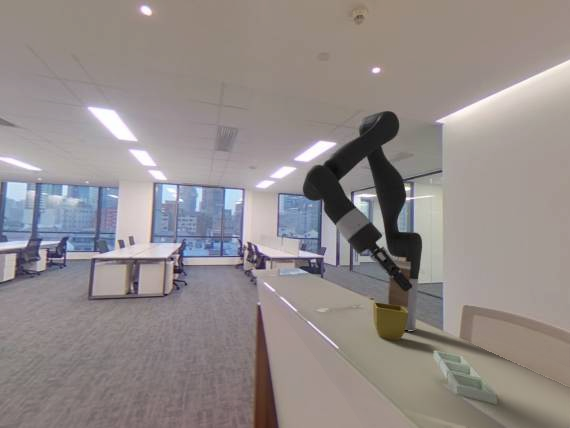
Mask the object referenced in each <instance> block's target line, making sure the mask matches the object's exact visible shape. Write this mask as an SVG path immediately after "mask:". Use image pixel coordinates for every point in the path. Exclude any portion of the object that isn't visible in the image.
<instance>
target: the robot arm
mask: <svg viewBox="0 0 570 428" xmlns="http://www.w3.org/2000/svg"><path fill="white" fill-rule="evenodd" d="M399 130H400V121H399V118H398V115H397V114H396V113H395V112H393V111H390V110H385V111H384V110H383V111H380V112H377V113H374V114H370V115H367V116H365V117H363V118H361V120H360V121H359V126H358V133H359V136H358V137H356V138H353V139H352V140H350V141H348V142H347V143H344V144H343V145H341V146H340V147H339V148H337V150H335V151H334V152H333V153H331V154H330V155H329V156H328V157H327V158H326V159H325V161H324V162H323V164H315V165H313V166H311V167H310V168H309V169H308V170H307V172H306V175H305V179H304V182H303V185H302V193H303V195H304V197H305V198H306V199H307V200H309V201H313V202H318V201H320V200H322V201H323V209H324V210H323V211H324V213H325V214H326V216H327V217H328V218H329V220H330V221H331V222H332V223H333V225H334V226H336V227H335V228H337V230H338V231H339V233H340V234H341V236H342V237H343V238H344V239H345V240H346V241H347V243H348V244H349V245H350V247H352V249H353V250H354V251H355V252H356V254H358V255H361V254H362V253H364V252H365V251H369V252H370V254H372V255H370V256H369V257H370V258H371V260H372V261H373V263H376V264H377V265H378V266H379V268H380V269H381V270H382V271H383V272H385V273H386V274H387V275H388V277H389V276H390V277H392V278H393V279H394V280H395V281H396V282H397V283H398V285H399V286H400V287H401V288H402V289H403V290H404V291H405V292H406V291H408V290H409V296H408V307H403V308H404V309H406V310H407V311H408V313H409V314H408V319H407V324H406V329H405V330H414V329H415V330H416V322H417V310H418V309H417V306H418V294H419V293H418V292H419V291H418V290H419V289H418V288H419V274H420V270H421V262H422V261H421V260H422V252H423V250H422V249H423V239H422V236H421V235H420V234H419V232H414V231H399V226H398V221H399V220H398V219H399V217H400V214H401V212H402V210H403V207H404V206H405V203H406V201H407V192H406V185H405V182H404V179H403V176H402V175H401V173H400V172H399V171H398V169H397V168H396V167H395V166H394V165H393V164H392V162H390V161H389V160H388V158H387V157H386V155H385V152H384V150H383V147H382V146H383V145H385V144H387V143H389V142H390V141H392V140H393V139H395V138H396V136H397V135H398V133H399V132H400V131H399ZM365 158H367V162H368V165H369V168H370V172H371V176H372V179H373V184H374V189H375V193H376V197H377V200H378V204H379V209H380V212H381V217H382V221H383V229H384V236H385V241H386V247H387V249H386V248H385V247H384V246H382V247H380V246H379V245H378V244H377V242H378V241H379V240H381V238H382V237H383V233H382V232H381V231H380V230H379V228H377V227H376V226H375V225H374V224H373V222H372V221H371V220H370V219H369V218H368V217H367V216H366V215H365V213H364V212H362V211H361V210H360V209H359V208H358V207H357V206H356V205H355V204H354V202H352V200H351V199H350V198H349V197H348V196H347V194H346V193H345V191H344V188H343V187H342V185H341V183H340V181H341V179H343V177H345V176H346V175H348V173H350V171H352V170H353V169H354V168H355V167H356V166H357V165H358V164H359V163H360V162H362V161H363V160H364V159H365ZM393 257H396V258H404V259H405V261H406V262H411V268H410V281H408V280H407V279H406V277H405V276H404V275H403V274H402V273H401V270H400V268H399V267H397V265H396V264H395V261H394V260H395V259H393ZM391 266H394V268H393V269H391V270H390V267H391ZM394 277H395V278H394Z"/></svg>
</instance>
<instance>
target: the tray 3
mask: <svg viewBox="0 0 570 428" xmlns="http://www.w3.org/2000/svg"><path fill="white" fill-rule="evenodd" d="M447 381H448V383H449V384H450V386H451V388H452V389H453V391H454V392H455V394H456V395H457V396H463V397H465V398H470V399H473V400H478V401H482V402H486V403H489V404H492V405H497V403H498V400H497V399H498V396H497V393H496V392H495V391H494V390H493V389H492V388H491V386H489V385H488V383H487V382H486V381H485V380H484V379H483V378H482V379H477V378H473V377H469V376H464V375H460V374H456V373H451V372H448V379H447Z"/></svg>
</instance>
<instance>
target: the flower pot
mask: <svg viewBox="0 0 570 428" xmlns="http://www.w3.org/2000/svg"><path fill="white" fill-rule="evenodd" d="M372 304H373V305H372V308H373V309H372V312H373V324H374V326H375V331H376V332H377V335H378V337H379V338H383V339H387V340H388V339H389V340H394V341H400V340H401V338H403V335H404V333H405V332H406V331H405V329H406V324H407V319H408V314H409V313H408V311H407V310H406V309H404V308H403V307H402V306H396V305H390V304H388V303H383V302H377V301H373V302H372Z"/></svg>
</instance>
